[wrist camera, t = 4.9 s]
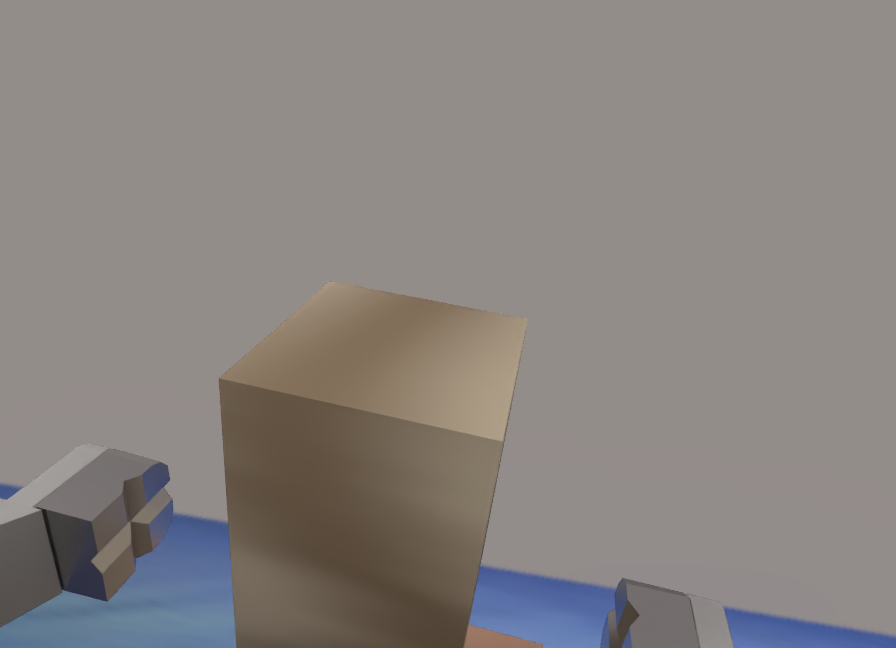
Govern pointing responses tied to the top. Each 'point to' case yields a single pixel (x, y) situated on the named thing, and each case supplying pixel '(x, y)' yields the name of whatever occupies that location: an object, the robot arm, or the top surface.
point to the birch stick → (365, 469)
